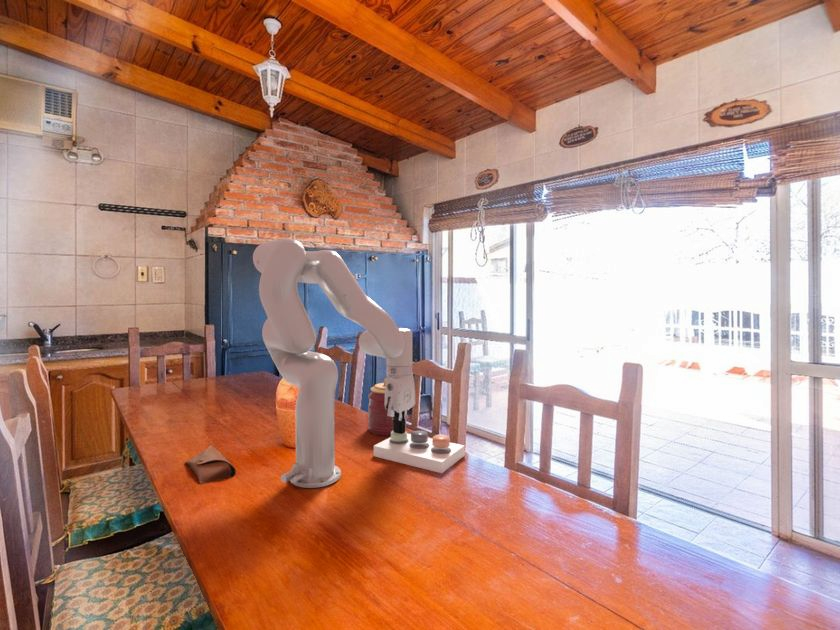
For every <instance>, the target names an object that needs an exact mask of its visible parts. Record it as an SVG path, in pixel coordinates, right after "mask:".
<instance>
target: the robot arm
mask: <svg viewBox="0 0 840 630" xmlns="http://www.w3.org/2000/svg"><path fill="white" fill-rule="evenodd" d="M305 249H306V248H305V247H304V245H303V244H302V243H301V242H300V241H299V240H296V239H294V238H280V239H274V240H269V241H265V242H263V243H261V244H259V245H258V246H256V248H255V250H254V251H253V254H252V261H253V265H254V267H255V269H256V270H257V272H259V273H261V275H260V279H259V283H258V284H259V285H258V286H259V287H258V295H259V300H260V302H261V305H262V307H263V309H264V312H265V314H266V317H267V318H266V320H265V322H264V323H263V327H262V329H261V330H262V333H261V335H262V340H263V343H264V345H265V347H266V349H267V351H268V353H269V355H270V357H271V359H272V361H273V363H274V365H275V367H276V369H277V370H278V372H279V375H281V377H282V379H284V381H285V382H286V383H288V384H290V385H293V386H295V387H298V394H297V398H296V402H295V408H294V414H295V415H294V416H295V417H294V419H295V463H292V468H291V469H290V471H288V472H287V471H286V472H285V473H283V474H282V475H280V480H281V482H282V483H283V484H284V483H285V484H286V483H288V482H290V483H291V485H293V486H296V487H298V488H302V489H303V488H304V489H316V488H322V487H326V486H330V485H332V484H334V483H336V482H337V481H338V480H340V478H341V476H342V471H341V468H340V467H339V466H338V465H335V463H336V462H335V461H336V458H335V457H336V455H335V453H336V451H335V450H336V449H335V447H336V446H335V442H336V441H335V439H336V438H335V434H336V433H335V430H336V429H335V426H336V425H335V424H336V423H335V399H336V391H337V390H336V389H337V386H338V385H337V384H338V381H339V380H338V379H339V371H338V366H337V365H336V363H335V361H334V360H333V359H332V358H331V357H330V356H328V355H326V354H324V353H321V352H317V351H311V350H312V349H313V348H314V346H315V344H316V342H317V333H316V329H315V327H314V324H313V323H312V321H311V318H310V316H309V315H308V312H307V310H306V308H305V305H304V304H303V302H302V299H301V297H300V293H299V289H298V283H303V284H313V285H314V284H316V285H317V284H318V286H319V287H320V288H321V290H322V291H323V293H324V294H325V295H326V297H327V298H328V300H329V301H330V302H331V305H333V307H334V309H335V310H336V311H337V312H338V314H340V315H341V316H343V317H344V318H346V319H348V320H350V321H351V322H353V323H355V324H357V325H359V326H361V327H362V328H363V329H365V330H364V331H363V332H362V333H361V334H360V335H359V338H358V347H359V349H360V350H361V351H362V352H363V353H365V354H366V355H369V356H374V357H381V358H384V359H386V377H385V379H386V385H385V409H386V410H387V411H388V413H387V416H390V417H392V419H393V432H395V433H400V434H403V433H405V431H406V429H405V419H406V420H407V416H408V411H409V410H411V408H413V407H414V406H415V405H416V386H415V378H414V375H413V331H412V330H411V329H410V328H404V327H398V326H397V323H396V322H395V321H394V319H393V318H392V317H391V315H390V314H389V313H388V312H386V310H385V309H383V308H382V307H381V306H380V305H379V304H377V303H376V302H375V301H374V300H373V299H371V298H370V297H369V296H367V294H366V292H364V290H363V289H362V287H361V285H359V282H358V281H357V279H356V278H355V276H354V275H353V273H352V272H351V270H350V269H349V268H348V266H347V264H346V262H345V261H344V259H343V258H342V257H341V255H339V254H338V253H337V252H336V251H334V250H330V249H321V250H313V251H310V250H305Z"/></svg>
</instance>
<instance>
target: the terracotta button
mask: <svg viewBox="0 0 840 630" xmlns="http://www.w3.org/2000/svg"><path fill="white" fill-rule="evenodd" d="M431 439H432V445H433V446H434V447H437V448H446V447H449V446H450V443H451V439H450V436H448V435H445V434H435V435H434V436H432V437H431Z"/></svg>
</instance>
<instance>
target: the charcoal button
mask: <svg viewBox="0 0 840 630" xmlns="http://www.w3.org/2000/svg"><path fill="white" fill-rule="evenodd" d="M410 434H411V441H412V442H414V443H425V442H427V441H428V438H429V433H428V432H427V431H425V430H414V431H411V433H410Z"/></svg>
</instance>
